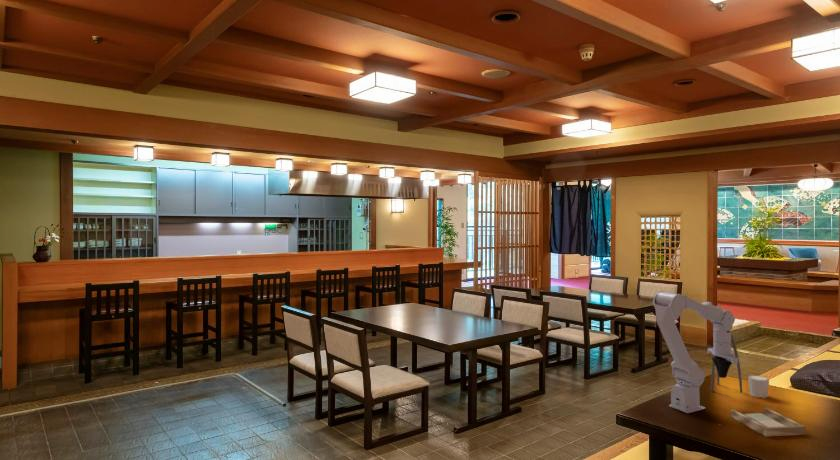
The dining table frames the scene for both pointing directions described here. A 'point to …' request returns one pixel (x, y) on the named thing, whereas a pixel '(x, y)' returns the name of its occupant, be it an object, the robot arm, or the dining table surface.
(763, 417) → the celadon tile
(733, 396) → the dining table surface
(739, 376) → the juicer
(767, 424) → the cream tile
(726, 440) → the dining table surface
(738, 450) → the dining table surface
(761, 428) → the box
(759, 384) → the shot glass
